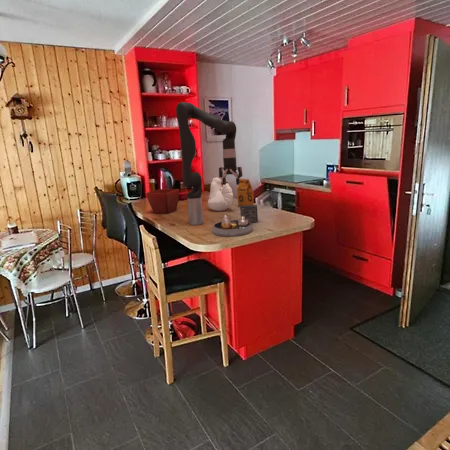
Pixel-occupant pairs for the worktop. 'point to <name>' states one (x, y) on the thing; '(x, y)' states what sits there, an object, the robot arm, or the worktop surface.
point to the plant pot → (163, 200)
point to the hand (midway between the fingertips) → (231, 184)
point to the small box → (249, 213)
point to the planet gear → (227, 226)
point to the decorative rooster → (219, 195)
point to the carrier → (238, 229)
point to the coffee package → (245, 193)
